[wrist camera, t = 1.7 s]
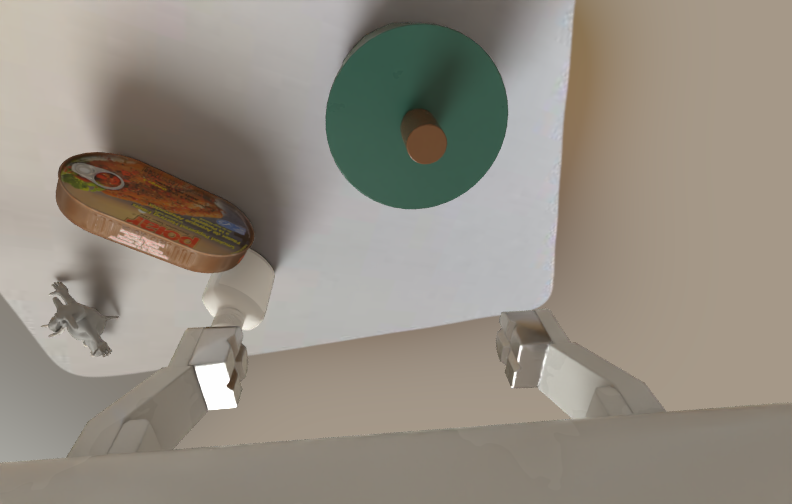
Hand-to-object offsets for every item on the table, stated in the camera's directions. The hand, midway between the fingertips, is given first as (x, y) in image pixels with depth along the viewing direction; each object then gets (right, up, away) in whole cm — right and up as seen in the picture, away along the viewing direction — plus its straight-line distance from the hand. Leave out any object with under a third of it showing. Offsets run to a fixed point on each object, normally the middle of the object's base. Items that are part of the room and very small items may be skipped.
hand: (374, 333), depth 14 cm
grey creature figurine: (-31, -3, +32) cm, 45 cm away
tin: (-20, +8, +26) cm, 34 cm away
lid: (+2, +12, +17) cm, 21 cm away
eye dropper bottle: (-15, +2, +31) cm, 34 cm away
